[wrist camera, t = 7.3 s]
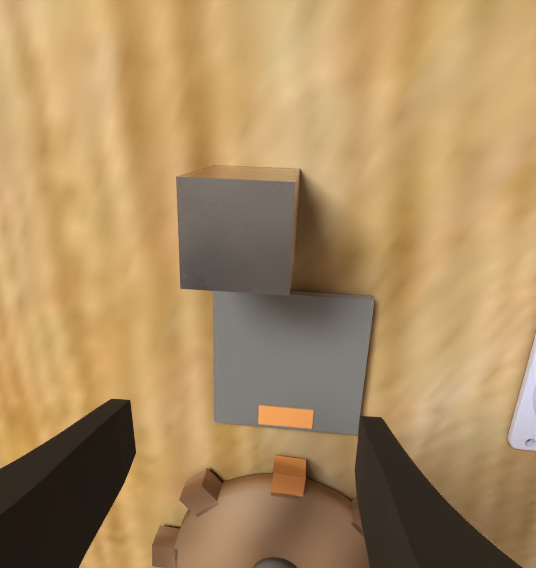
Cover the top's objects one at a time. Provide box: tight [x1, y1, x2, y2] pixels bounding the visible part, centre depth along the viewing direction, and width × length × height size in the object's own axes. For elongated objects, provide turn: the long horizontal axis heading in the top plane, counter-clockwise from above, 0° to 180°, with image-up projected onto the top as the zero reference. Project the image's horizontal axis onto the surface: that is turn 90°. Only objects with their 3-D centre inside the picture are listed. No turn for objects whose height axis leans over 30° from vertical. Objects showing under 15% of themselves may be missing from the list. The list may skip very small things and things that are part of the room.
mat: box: [213, 291, 375, 435], centre depth 22 cm, size 8×8×1 cm
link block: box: [176, 165, 300, 296], centre depth 17 cm, size 4×4×6 cm
